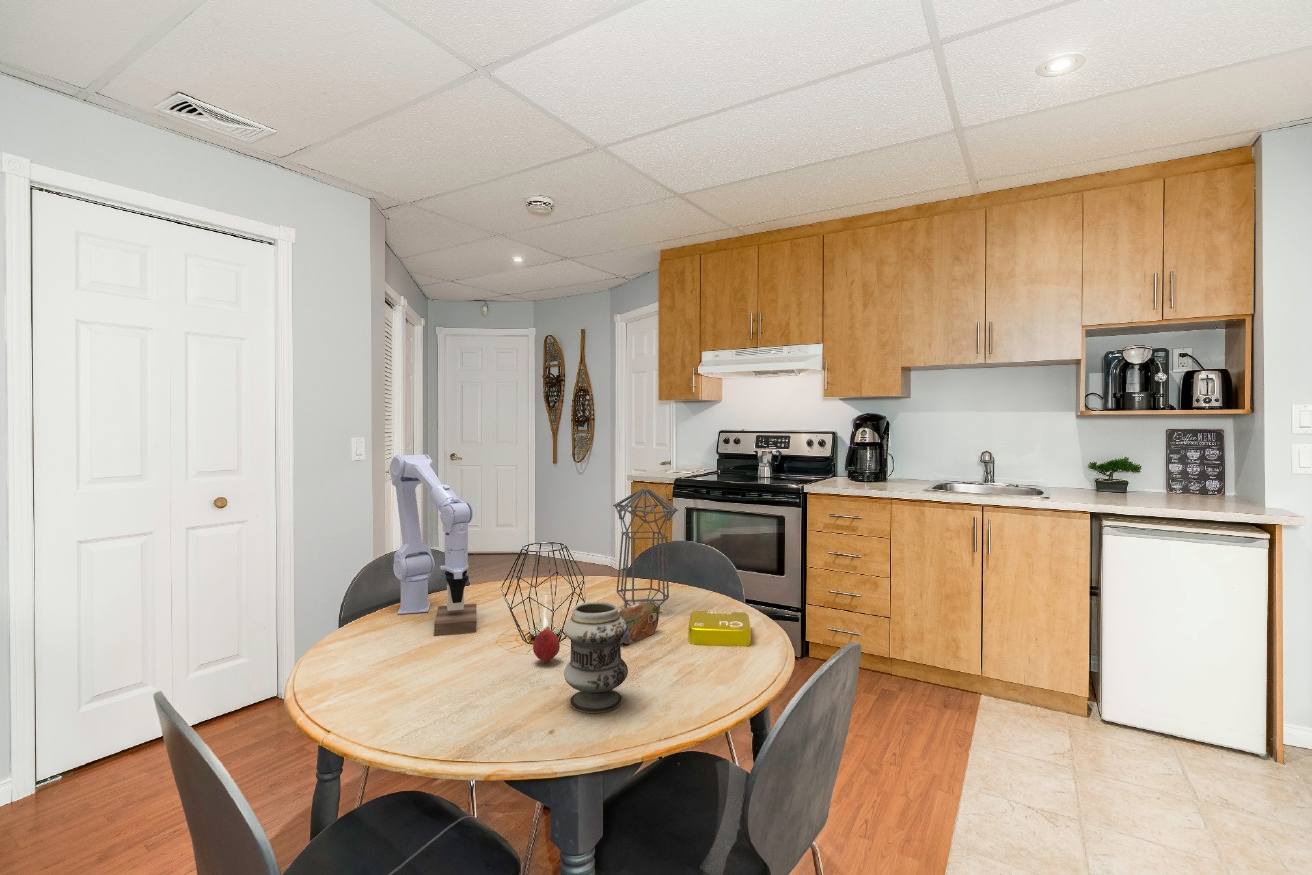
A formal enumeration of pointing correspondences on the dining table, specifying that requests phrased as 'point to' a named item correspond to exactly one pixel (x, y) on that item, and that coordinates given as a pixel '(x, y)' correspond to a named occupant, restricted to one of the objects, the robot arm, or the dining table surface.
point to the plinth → (455, 620)
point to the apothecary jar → (595, 656)
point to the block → (450, 604)
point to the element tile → (719, 628)
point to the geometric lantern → (669, 511)
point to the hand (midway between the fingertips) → (456, 600)
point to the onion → (546, 645)
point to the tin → (639, 621)
